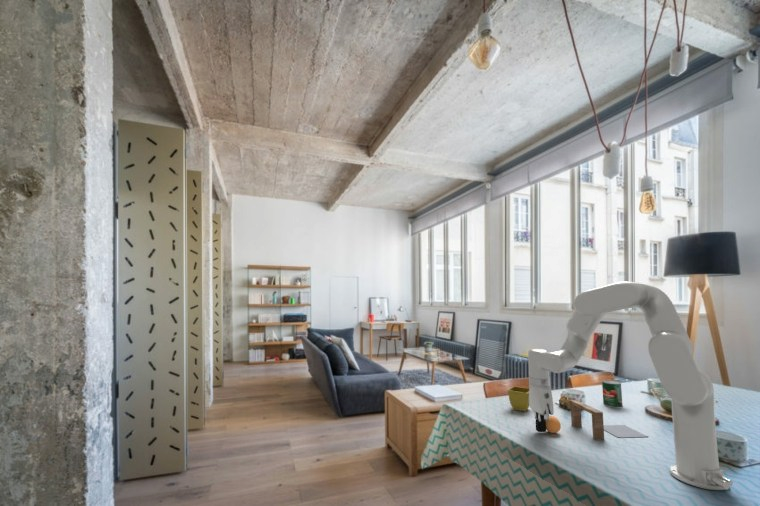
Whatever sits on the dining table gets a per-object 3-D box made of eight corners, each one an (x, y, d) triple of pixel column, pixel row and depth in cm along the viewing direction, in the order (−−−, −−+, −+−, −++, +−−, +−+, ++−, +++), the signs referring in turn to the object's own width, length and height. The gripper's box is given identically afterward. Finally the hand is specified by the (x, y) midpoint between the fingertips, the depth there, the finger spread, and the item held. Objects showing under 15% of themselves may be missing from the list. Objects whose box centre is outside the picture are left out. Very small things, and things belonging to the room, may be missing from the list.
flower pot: (528, 414, 159) (527, 393, 160) (508, 410, 164) (507, 389, 165) (533, 409, 166) (532, 388, 167) (513, 405, 171) (513, 385, 172)
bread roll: (582, 419, 163) (589, 403, 163) (560, 408, 165) (567, 392, 165) (575, 412, 173) (582, 397, 173) (554, 401, 175) (561, 387, 175)
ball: (557, 438, 134) (567, 426, 135) (545, 426, 134) (555, 414, 136) (548, 433, 140) (558, 422, 141) (537, 422, 140) (547, 410, 141)
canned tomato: (622, 404, 174) (620, 381, 175) (623, 408, 167) (621, 384, 168) (603, 401, 178) (601, 379, 179) (603, 405, 171) (601, 382, 173)
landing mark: (648, 437, 134) (648, 436, 134) (618, 437, 133) (618, 437, 133) (624, 425, 146) (624, 424, 146) (596, 426, 145) (596, 425, 145)
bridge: (604, 439, 131) (602, 412, 132) (596, 440, 131) (595, 412, 132) (578, 424, 146) (577, 400, 147) (571, 425, 145) (570, 400, 147)
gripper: (560, 386, 132) (562, 438, 130) (538, 377, 147) (539, 423, 145) (540, 387, 131) (542, 439, 129) (520, 377, 146) (521, 424, 144)
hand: (540, 431), depth 137 cm, fingers closed
